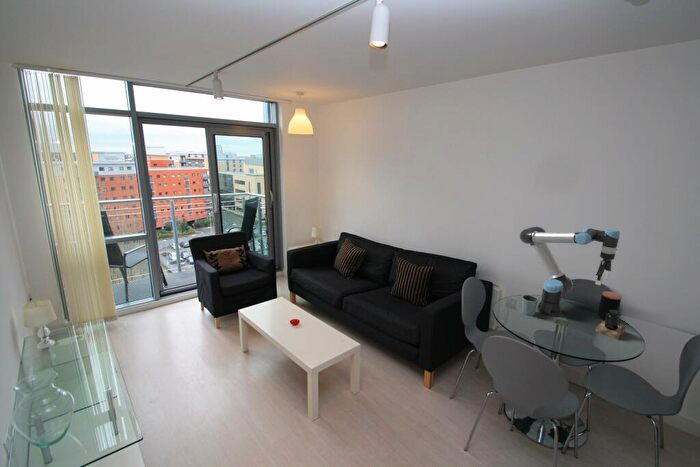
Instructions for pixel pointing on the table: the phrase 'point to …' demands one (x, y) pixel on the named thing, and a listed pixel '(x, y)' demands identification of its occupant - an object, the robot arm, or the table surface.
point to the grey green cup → (529, 305)
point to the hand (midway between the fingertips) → (601, 282)
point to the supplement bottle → (612, 320)
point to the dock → (608, 332)
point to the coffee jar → (608, 303)
